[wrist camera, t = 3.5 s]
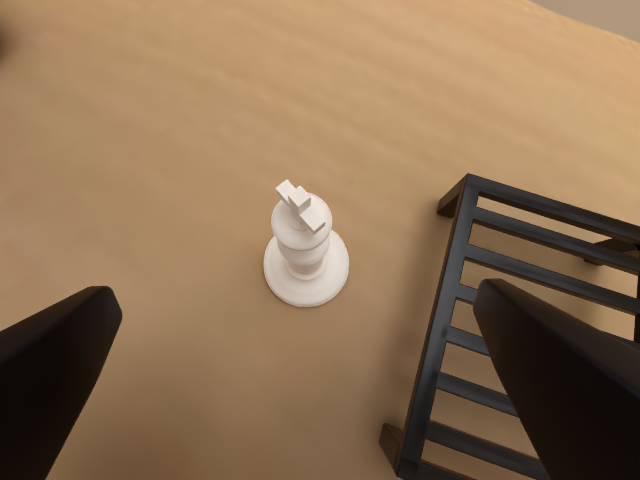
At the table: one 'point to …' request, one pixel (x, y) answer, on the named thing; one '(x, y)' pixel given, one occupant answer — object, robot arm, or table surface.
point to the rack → (406, 446)
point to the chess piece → (304, 250)
